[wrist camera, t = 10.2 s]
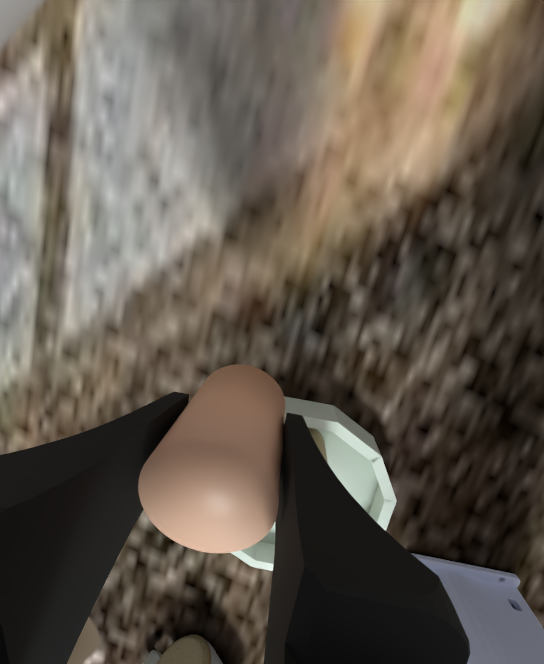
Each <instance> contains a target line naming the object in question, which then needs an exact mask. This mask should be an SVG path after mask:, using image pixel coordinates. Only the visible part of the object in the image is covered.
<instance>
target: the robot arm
mask: <svg viewBox="0 0 544 664" xmlns="http://www.w3.org/2000/svg"><path fill="white" fill-rule="evenodd" d="M188 400H189V394H184V393H179V392H173V393H170V394H168V395H166V396H164V397H162V398H160V399H158V400H156V401H154V402H152V403H150V404H148V405H146V406H144V407H142V408H140V409H138V410H136V411H134V412H131V413H129V414H127V415H125V416H122V417H120V418H118V419H116V420H113V421H111V422H109V423H106V424H104V425H101V426H99V427H96V428H94V429H91V430H88V431H85V432H83V433H80V434H77V435H74V436H71V437H68V438H64V439H61V440H57V441H54V442H51V443H47V444H44V445H40V446H37V447H33V448H29V449H25V450H21V451H17V452H13V453H8V454H4V455H0V664H67V662H68V659H69V657H70V655H71V653H72V651H73V648H74V646H75V644H76V642H77V639H78V638H79V636H80V633H81V631H82V629H83V627H84V625H85V623H86V621H87V619H88V617H89V614H90V612H91V610H92V608H93V606H94V604H95V602H96V600H97V598H98V596H99V593H100V591H101V589H102V587H103V585H104V583H105V581H106V579H107V577H108V575H109V573H110V571H111V569H112V567H113V565H114V563H115V561H116V559H117V557H118V555H119V553H120V551H121V549H122V548H123V546H124V544H125V542H126V540H127V538H128V536H129V534H130V532H131V530H132V528H133V526H134V525H135V523H136V521H137V519H138V518H139V516H140V514H141V513H142V511H143V507H142V504H141V501H140V497H139V491H138V483H139V476H140V473H141V470H142V468H143V466H144V464H145V462H146V461H147V460H148V458H149V457H150V455H151V454H152V453H153V451H154V450H155V449H156V447H157V446H158V444H159V443H160V442H161V440H162V439H163V438H164V436H165V435H166V434H167V432H168V431H169V429H170V428H171V427H172V425H173V424H174V423H175V421H176V420H177V419H178V417H179V416H180V414H181V413H182V412H183V410H184V409H185V408H186V406H187V405H188ZM519 584H520V580H519V578H518V577H517V575H515V574H513V573H508V572H503V571H498V570H493V569H488V568H483V567H478V566H473V565H468V564H463V563H458V562H453V561H448V560H443V559H438V558H433V557H429V556H424V555H419V554H414V553H410V552H409V551H407V550H406V549H405V548H404V547H403V546H401V545H400V544H399V543H398V542H397V541H396V540H395V539H394V538H393V537H392V536H391V535H389V534H388V533H387V532H386V531H385V530H384V529H383V528H382V527H381V526H380V525H379V524H378V523H377V522H376V521H375V520H374V519H373V518H372V517H371V516H370V515H369V514H368V513H367V512H366V511H365V510H364V509H363V508H362V506H361V505H360V504H359V503H358V502H357V501H356V500H355V499H354V498H353V497H352V495H351V494H350V493H349V492H348V491H347V489H346V488H345V487H344V486H343V484H342V483H341V482H340V480H339V479H338V478H337V476H336V475H335V474H334V472H333V471H332V469H331V468H330V466H329V465H328V463H327V461H326V460H325V458H324V457H323V455H322V453H321V452H320V450H319V448H318V446H317V444H316V443H315V441H314V439H313V437H312V435H311V433H310V431H309V429H308V427H307V424H306V422H305V420H304V418H303V416H302V415H298V414H293V413H287V414H286V419H285V424H284V434H283V452H282V465H281V479H280V492H279V506H278V514H277V517H276V521H275V553H274V565H273V575H272V586H271V597H270V607H269V617H268V628H267V637H266V647H265V657H264V664H544V629H543V627H542V625H541V624H540V622H539V621H538V619H537V618H536V616H535V615H534V613H533V612H532V610H531V609H530V607H529V606H528V604H527V603H526V601H525V600H524V598H523V597H522V595H521V594H520V592H519V591H518V589H517V587H518V585H519Z"/></svg>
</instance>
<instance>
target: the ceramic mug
mask: <svg viewBox="0 0 544 664" xmlns="http://www.w3.org/2000/svg"><path fill="white" fill-rule="evenodd" d="M143 664H223V663H222V661H221V660H220V658H219V657H218V655H217V653H216V652H215V650H214V648H213V647H212V646H211V644H210V643H209V642H207V641H206V640H205V639H204V638H203V637H201V636H199V635H195V634H191V635H187V636H184V637H182V638H180V639H178V640H177V641H175V642H174V643H173V644H172V645H171V646H170V647H169V648H168V649H167V650H166V651H165V652H164V653H163V655H162V654H160V653H159V652H157V651H156V650H152V651H151V652H150V653H149V655H148V656H147V658H146V659H145V661H144V663H143Z"/></svg>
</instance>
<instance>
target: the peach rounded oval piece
mask: <svg viewBox="0 0 544 664" xmlns="http://www.w3.org/2000/svg"><path fill="white" fill-rule="evenodd" d="M285 411H286V403H285V398H284V395H283V392H282V390H281V388H280V387H279V385H278V384H277V382H276V381H275V380H274V379H273V378H272V377H271V376H270V375H268V374H267V373H265V372H264V371H262V370H260V369H258V368H255V367H252V366H248V365H229V366H226V367H223V368H220V369H218V370H217V371H215V372H213V373H212V374H211V375H210V376H209V377H208V378H207V379H206V380H205V382H204V383H203V384H202V386H201V387H200V389H199V390H198V391H197V393H196V394H195V395H194V397H193V398H192V399H191V401H190V402H189V404H188V405H187V406H186V408H185V409H184V410H183V412H182V413H181V414H180V416H179V417H178V419H177V420H176V421H175V423H174V424H173V425H172V427H171V428H170V429H169V431H168V432H167V434H166V435H165V436H164V438H163V439H162V440H161V442H160V443H159V444H158V446H157V447H156V449H155V450H154V451H153V453H152V454H151V455H150V457H149V458H148V460H147V461H146V462H145V464H144V466H143V468H142V470H141V473H140V476H139V483H138V491H139V497H140V501H141V504H142V507H143V509H144V511H145V513H146V515H147V516H148V517H149V519H150V520H151V522H152V523H153V524H154V525H155V526H156V527H157V528H158V529H159V530H160V531H161V532H162V533H163V534H165V535H166V536H167V537H169V538H170V539H172V540H174V541H175V542H177V543H179V544H181V545H183V546H186V547H188V548H191V549H194V550H198V551H202V552H209V553H230V552H236V551H240V550H243V549H246V548H248V547H251V546H252V545H254V544H256V543H258V542H259V541H260V540H261V539H263V538H264V537H265V536H266V535H267V534H268V533H269V531H270V530H271V528H272V527H273V525H274V523H275V521H276V517H277V514H278V506H279V492H280V479H281V465H282V452H283V434H284V424H285Z"/></svg>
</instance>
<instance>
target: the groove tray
mask: <svg viewBox="0 0 544 664" xmlns="http://www.w3.org/2000/svg"><path fill="white" fill-rule="evenodd" d="M284 398H285V403H286V411H285V419H286V414H287V413H293V414H298V415H302V416H303V418H304V420H305V422H306V424H307V427H309V428H314V429H317V430H318V431H319V432H320V433H321V435H322V436H323V439H324V442H325V448H326V455H327V462H328V465H329V466H330V468H331V469H332V471H333V472H334V474H335V475H336V476H337V478H338V479H339V480H340V482H341V483H342V484H343V486H344V487H345V488H346V489H347V491H348V492H349V493H350V494H351V495H352V497H353V498H354V499H355V500H356V501H357V502H358V503H359V504H360V505H361V506H362V508H363V509H364V510H365V511H366V512H367V513H368V514H369V515H370V516H371V517H372V518H373V519H374V520H375V521H376V522H377V523H378V524H379V525H380V526H381V527H382V528H383V529H384V530H385V531H386V529H387V526H388V523H389V521H390V518H391V515H392V512H393V509H394V507H395V504H396V501H397V500H396V498H395V495H394V492H393V489H392V486H391V483H390V480H389V477H388V474H387V471H386V468H385V465H384V462H383V459H382V456H381V454H380V451H379V449H378V447H377V444H376V442H375V440H374V437H373V436H372V435H371V434H370V433H368V432H367V431H366V430H364V429H363V428H362V427H361V426H359V425H358V424H357V423H356V422H354V421H353V420H352V419H351V418H349V417H348V416H347V415H345V414H344V413H343V412H342V411H340V410H339V409H338V408H337V407H335V406H334V405H329V404H323V403H318V402H312V401H307V400H301V399H296V398H290V397H285V396H284ZM231 553H232V554H234V555H235V556H236V557H238V558H239V559H241V560H242V561H244V562H245V563H247V564H248V565H250V566H251V567H256V568H261V569H265V570H270V571H273V565H274V553H275V523H274V525H273V527H272V528H271V530H270V531H269V533H268V534H267V535H266V536H265V537H264V538H263V539H261V540H260V541H259V542H258V543H256V544H254V545H252V546H251V547H248V548H246V549H243V550H240V551H236V552H231Z"/></svg>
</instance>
